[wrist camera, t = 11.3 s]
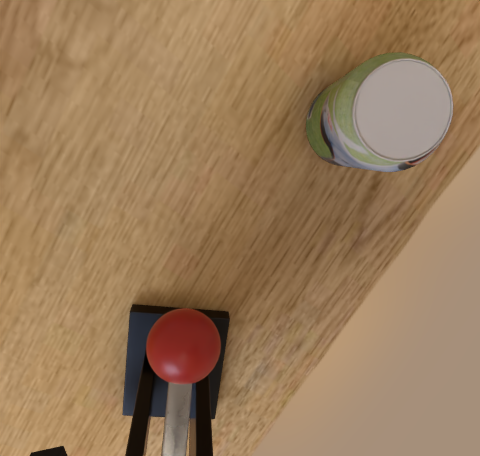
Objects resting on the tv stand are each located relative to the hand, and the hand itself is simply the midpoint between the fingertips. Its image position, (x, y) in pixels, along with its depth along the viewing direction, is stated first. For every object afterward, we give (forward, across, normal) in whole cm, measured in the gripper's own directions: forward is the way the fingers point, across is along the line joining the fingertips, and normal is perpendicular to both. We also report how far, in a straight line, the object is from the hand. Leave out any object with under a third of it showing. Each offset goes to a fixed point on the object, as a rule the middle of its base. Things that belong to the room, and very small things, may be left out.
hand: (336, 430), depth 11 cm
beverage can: (+24, +8, +5) cm, 26 cm away
